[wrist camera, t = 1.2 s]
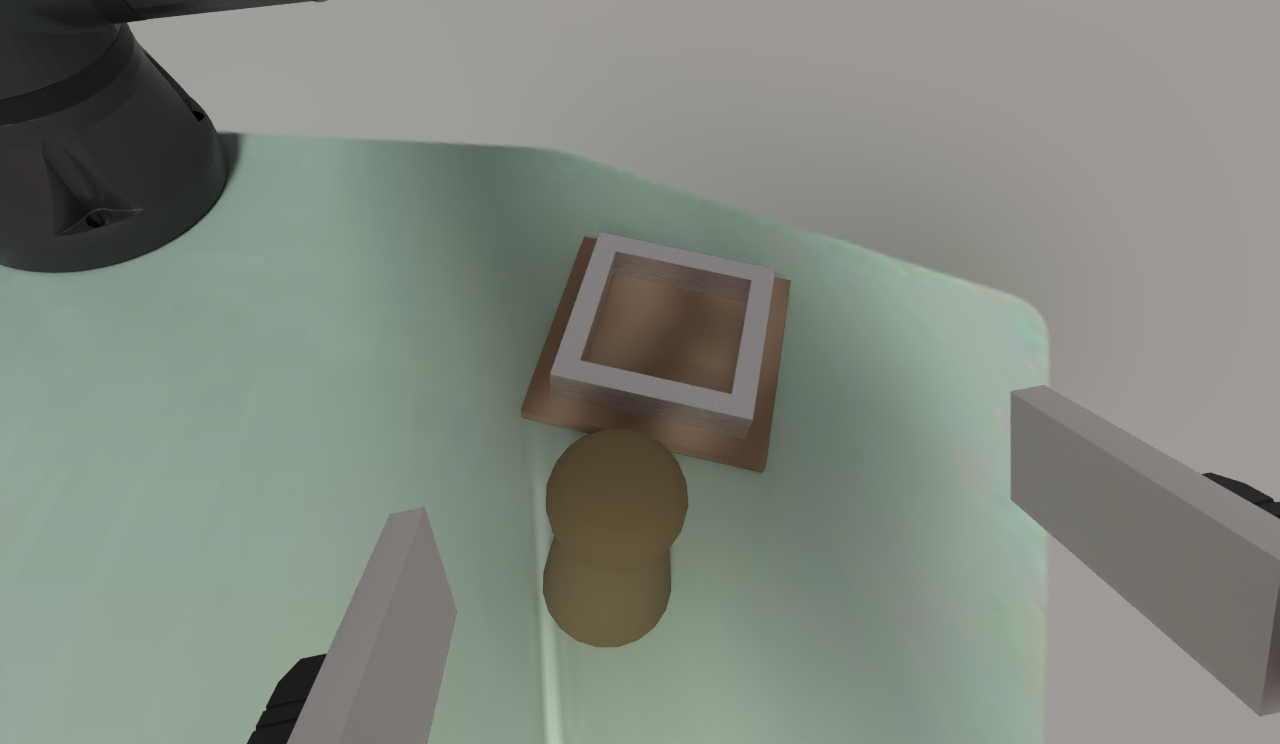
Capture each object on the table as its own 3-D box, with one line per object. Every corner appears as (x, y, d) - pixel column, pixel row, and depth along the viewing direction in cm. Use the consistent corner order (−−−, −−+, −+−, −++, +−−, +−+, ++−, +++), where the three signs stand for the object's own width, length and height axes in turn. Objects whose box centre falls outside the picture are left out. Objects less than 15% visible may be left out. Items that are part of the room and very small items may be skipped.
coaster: (522, 417, 39) (518, 388, 37) (584, 245, 47) (584, 213, 44) (762, 472, 39) (774, 446, 36) (787, 289, 46) (798, 258, 44)
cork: (555, 512, 36) (550, 392, 27) (676, 530, 36) (711, 415, 27) (530, 637, 33) (514, 547, 24) (664, 656, 33) (699, 574, 24)
